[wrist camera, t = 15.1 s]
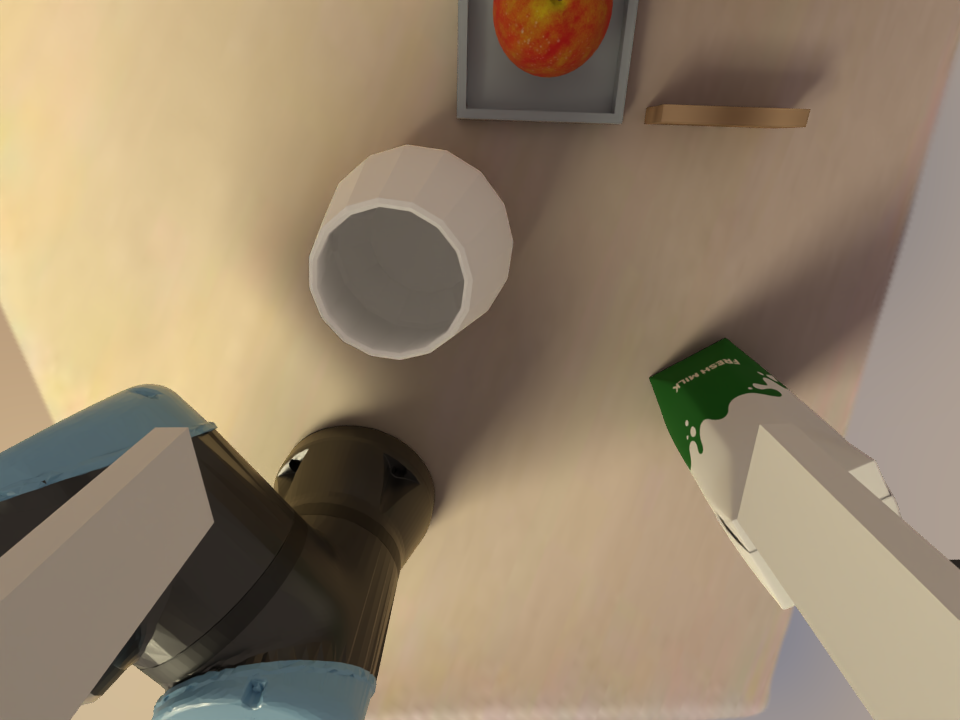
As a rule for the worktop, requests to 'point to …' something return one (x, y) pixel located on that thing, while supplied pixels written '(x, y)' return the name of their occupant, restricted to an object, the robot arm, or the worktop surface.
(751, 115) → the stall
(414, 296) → the cup
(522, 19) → the fruit
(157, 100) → the worktop surface
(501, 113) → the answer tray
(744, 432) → the milk carton
